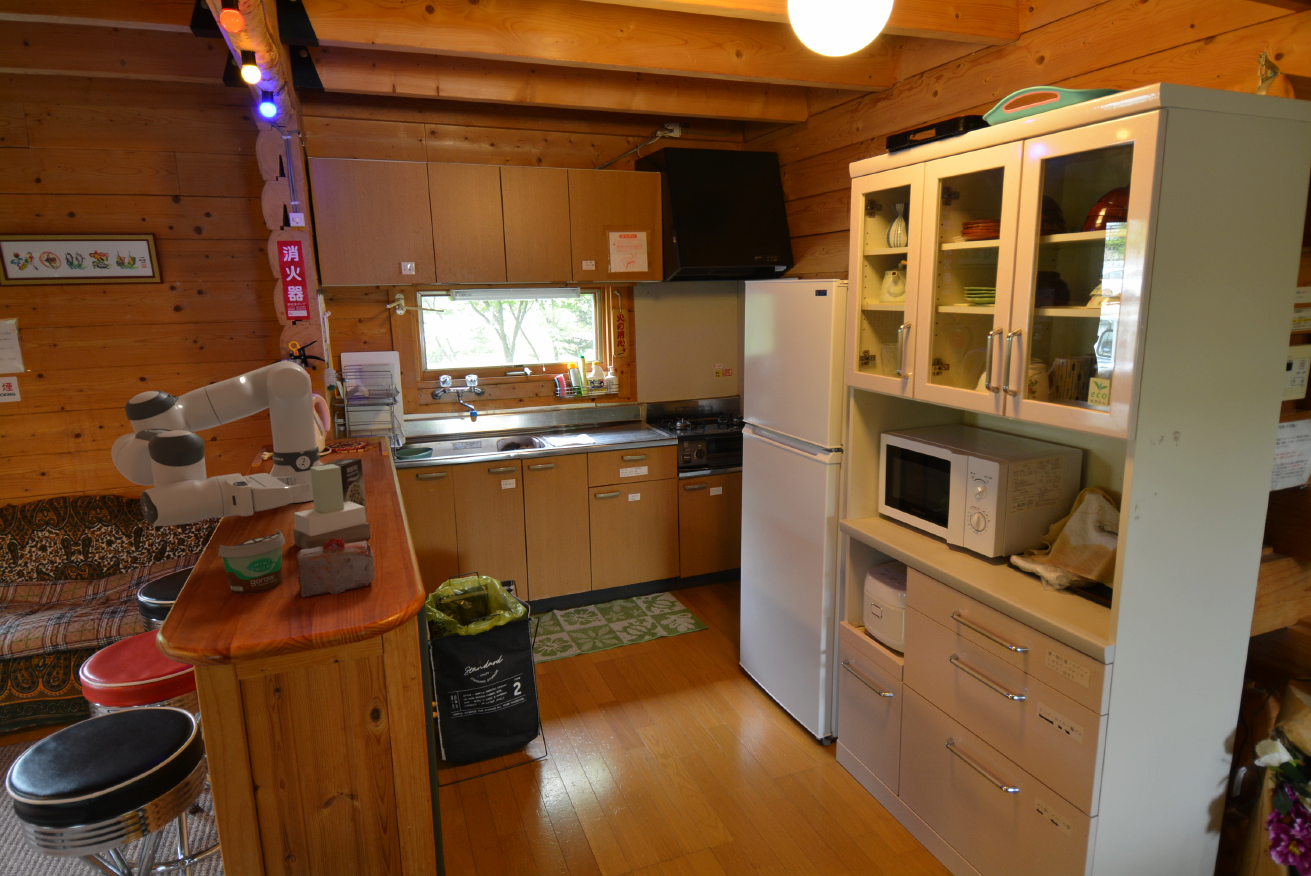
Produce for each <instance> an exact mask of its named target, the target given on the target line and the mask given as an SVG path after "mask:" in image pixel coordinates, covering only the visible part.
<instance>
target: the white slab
mask: <svg viewBox="0 0 1311 876" xmlns="http://www.w3.org/2000/svg"><path fill="white" fill-rule="evenodd" d="M293 517H294V525H295V526H294V527H295V528H294V529H296V530H297V531H300V532H302V533H304V534H306V535H309V536H315V535H319V534H323V533H327V532H331V531H335V530H339V529H344V528H348V527H352V526H356V525H360V524H364V523H366V522H367V520H366V515H365V507H364V506H361V505H359V504H356V503H353V502H350V501H347V502H344V509H343V510H338V511H332V512H327V513H320V512H318V511H317V510H315V509H314V508H311V509H306V510H302V511H297V512H293Z"/></svg>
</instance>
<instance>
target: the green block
mask: <svg viewBox="0 0 1311 876" xmlns="http://www.w3.org/2000/svg"><path fill="white" fill-rule="evenodd" d="M310 468H311V479H312V489H313V500H312V501H313V509H315V510H317V511H318V512H320V513H327V512H332V511H338V510H343V509H344V501H343V490H342V479H341V467H339V466H336V465H334V464H329V465H323V466H316V467H310Z"/></svg>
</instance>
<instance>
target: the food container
mask: <svg viewBox="0 0 1311 876" xmlns="http://www.w3.org/2000/svg"><path fill="white" fill-rule="evenodd" d="M285 543H286V539H285V537H284V535H283V533H282V531H281V530H279V529H277V528H276V529H275V533H272V534H270V535H267V536H263V537H256V538H250V539H247V540H245V541H243V542H241V543H238V544H235V545H222V544H220V545H219V548H218V557H220V558H222V560H223V564H224V570H225V573H226V576H227V580H228V584H229V589H230V593H231V594H233V595H254V594H258V593H263V592H266V591H267V592H268V591H270V590H273V589H275V588H277V587H279V586H280V585H281V584H282V582H283V568H282V567H283V563H282V562H283V560H282V547H283V545H285Z"/></svg>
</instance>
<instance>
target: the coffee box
mask: <svg viewBox="0 0 1311 876" xmlns="http://www.w3.org/2000/svg"><path fill="white" fill-rule="evenodd" d="M362 463H363V462H362V458H339V459H335V460H333V461H330V462H327V463H323V465H329V464H334V465H336V466H339V467H341V479H342V490H343V501H344V502H347V501H350V502H353V503H356V504H359V505H361V506H364V507H365V515H366V521H367V520H368V513H367V503H366V495H365V484H364V474H363V473H364V472H363V464H362ZM323 465H320V466H323Z"/></svg>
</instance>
